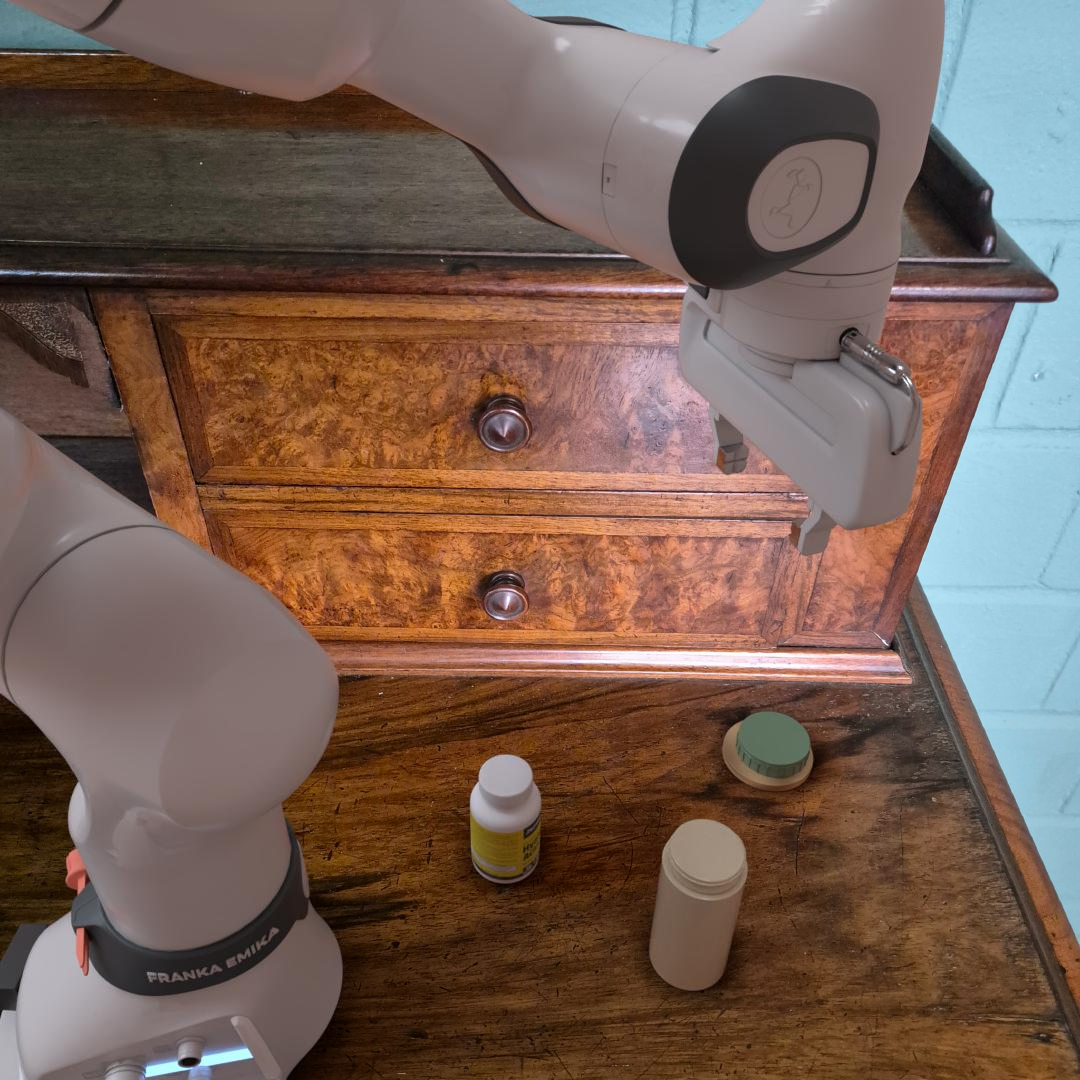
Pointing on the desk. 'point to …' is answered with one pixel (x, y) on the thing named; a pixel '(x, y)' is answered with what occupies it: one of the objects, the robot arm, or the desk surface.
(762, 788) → the coaster
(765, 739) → the jar lid
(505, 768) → the supplement bottle
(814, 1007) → the desk surface
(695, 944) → the jar
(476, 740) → the desk surface
